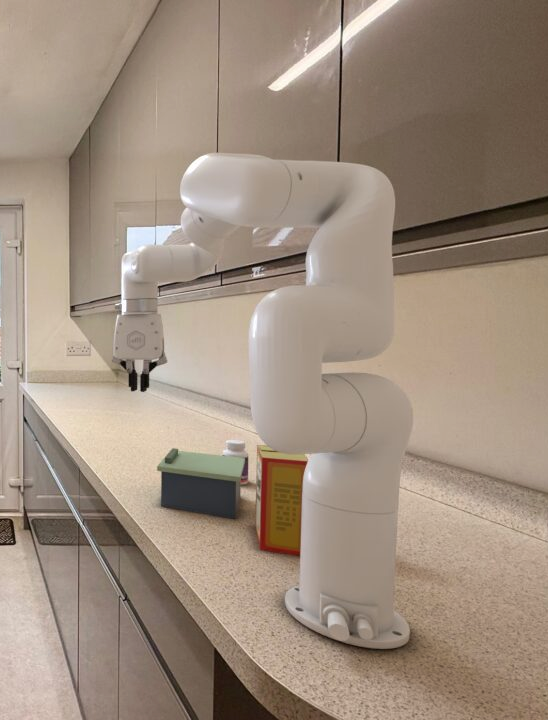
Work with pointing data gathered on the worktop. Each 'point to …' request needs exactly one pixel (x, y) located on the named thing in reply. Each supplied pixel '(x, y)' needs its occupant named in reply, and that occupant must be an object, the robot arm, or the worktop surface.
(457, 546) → the worktop surface
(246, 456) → the pill bottle
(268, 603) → the worktop surface
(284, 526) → the baking soda box
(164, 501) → the storage bin
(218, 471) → the bin lid
